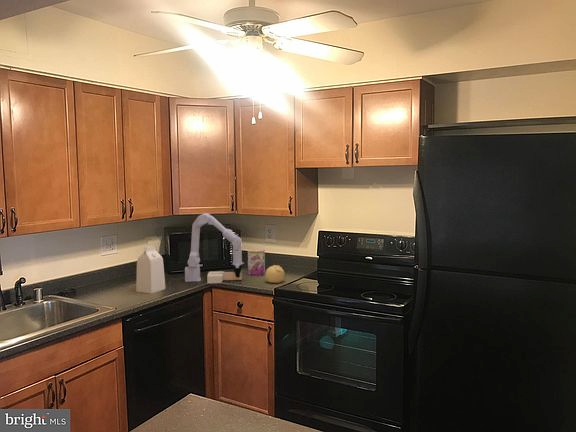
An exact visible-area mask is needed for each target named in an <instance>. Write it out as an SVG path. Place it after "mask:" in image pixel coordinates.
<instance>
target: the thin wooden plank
mask: <svg viewBox="0 0 576 432" xmlns="http://www.w3.org/2000/svg"><path fill="white" fill-rule="evenodd" d="M220 274H223V277H222V281H235V280H239V281H240V280H243V278H242V276H243V273H242V271H240V277H236V275H235V271H224V272H220Z"/></svg>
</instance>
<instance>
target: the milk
mask: <svg viewBox="0 0 576 432" xmlns="http://www.w3.org/2000/svg"><path fill="white" fill-rule="evenodd" d="M155 248H156V247H155V246H154V245H149V246H145V247H144V250H143V253H142V254H141V255H140V256H139V257H138V258H137V260H136V285H135V286H136V287H135V288H136V289H135V292H137V293H138V292H139V293H144V294H154V293H157V292H160V291H163V290H165V289H166V279H165V267H164V258H163V256H162V255H161V254H160V253H159V252H158V251H157V250H156V249H155Z"/></svg>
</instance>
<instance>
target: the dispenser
mask: <svg viewBox="0 0 576 432" xmlns="http://www.w3.org/2000/svg"><path fill="white" fill-rule="evenodd" d="M220 272H225V271H223V270H219V271H208V273H207V278H206V279H207V280H206V281H207V283H206V284H223V280H222V277H223V274H220Z"/></svg>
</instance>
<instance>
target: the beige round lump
mask: <svg viewBox="0 0 576 432" xmlns="http://www.w3.org/2000/svg"><path fill="white" fill-rule="evenodd" d="M264 275H265V280H266V281H267V282H268V283H272V284H280V283H282V282H283V280H284V278H285V271H284V269H283V268H282V266H280V265H276V264H273V265H272V266H269V267H268V268H267V269H265V274H264Z"/></svg>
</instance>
